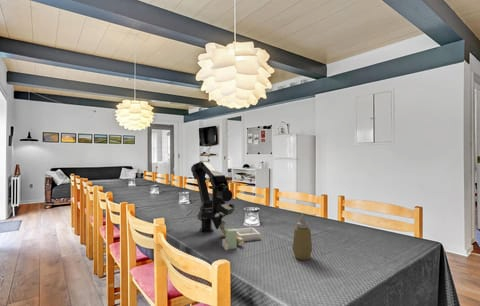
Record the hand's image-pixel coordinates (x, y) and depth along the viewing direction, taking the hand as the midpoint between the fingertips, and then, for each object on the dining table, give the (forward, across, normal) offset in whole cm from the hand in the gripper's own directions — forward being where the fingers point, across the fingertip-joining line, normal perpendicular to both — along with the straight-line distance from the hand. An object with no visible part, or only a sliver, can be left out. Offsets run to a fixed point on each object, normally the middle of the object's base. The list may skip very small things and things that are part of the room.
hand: (217, 229), depth 140 cm
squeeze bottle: (+4, +1, -46) cm, 46 cm away
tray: (+4, +9, -12) cm, 16 cm away
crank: (+3, 0, -8) cm, 9 cm away
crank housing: (+4, -4, -12) cm, 13 cm away
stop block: (+4, -7, -14) cm, 17 cm away
